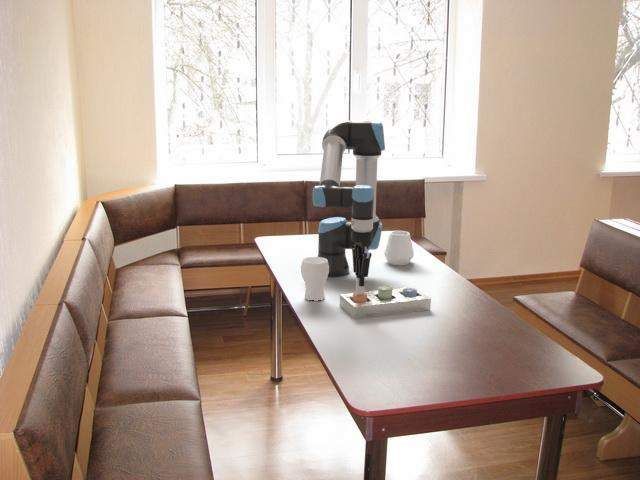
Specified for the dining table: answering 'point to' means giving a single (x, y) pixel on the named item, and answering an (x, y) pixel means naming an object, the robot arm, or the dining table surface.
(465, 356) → the dining table surface
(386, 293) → the button sage
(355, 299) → the button terracotta
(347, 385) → the dining table surface
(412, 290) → the button slate
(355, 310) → the panel
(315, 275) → the cup
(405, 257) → the white vase
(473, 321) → the dining table surface
